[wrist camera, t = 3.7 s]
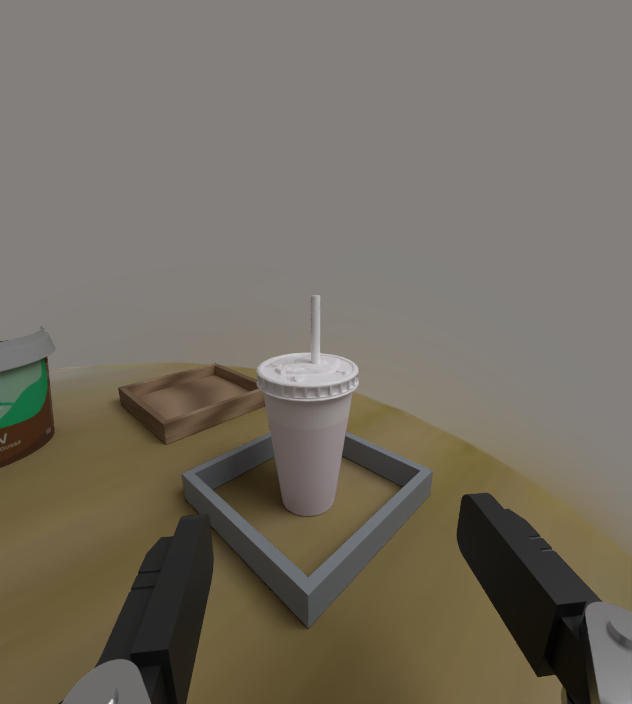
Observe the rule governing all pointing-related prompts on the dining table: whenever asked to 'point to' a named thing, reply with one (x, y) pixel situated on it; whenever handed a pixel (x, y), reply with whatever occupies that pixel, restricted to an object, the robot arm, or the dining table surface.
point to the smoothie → (308, 420)
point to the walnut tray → (191, 400)
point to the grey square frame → (345, 563)
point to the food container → (25, 396)
